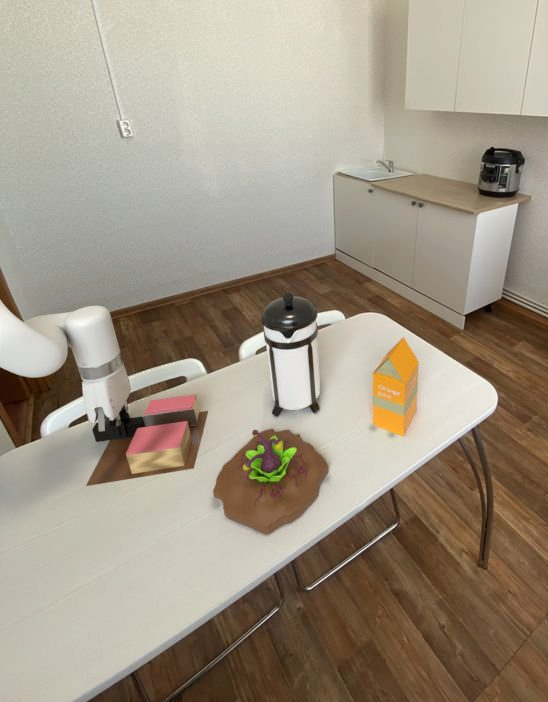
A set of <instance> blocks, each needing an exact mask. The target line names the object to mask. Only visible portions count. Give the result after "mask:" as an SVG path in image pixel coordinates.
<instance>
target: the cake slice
mask: <svg viewBox="0 0 548 702" xmlns="http://www.w3.org/2000/svg"><path fill="white" fill-rule="evenodd" d="M191 408H195V413H196V417H197V420H198V416H199V413H200V412H201V411H200V408H199V403H198V399H197V394H189V395H180V396H175V397H173V396H172V397H166V398H159V399H158V398H157V399H151V400H149V403H148V405H147V407H146V409H145V412H144V415H148V414H155V413H162V412H170V411H177V410H184V409H191ZM189 426H195V425H189Z"/></svg>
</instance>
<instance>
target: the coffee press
mask: <svg viewBox="0 0 548 702" xmlns="http://www.w3.org/2000/svg"><path fill="white" fill-rule="evenodd" d="M317 318H318V309H317V307H316V306H315V305H314V304H313V303H312V301H311V300H309V299H307V298H304V297H301V296H297V295H296V296H295V295H293V294H292V293H290V292H286V293H284V295H283V297H279V298H276V299H275V300H273V301H271V302H269V304H268V305H267V306H266V307H265V308H264V310H263V312H262V314H261V315H260V320H261V324H262V325H263V339H264V343H265V346H266V355H267V362H268V363H267V364H268V372H269V380H270V389H271V396H272V400H273V402H274V406H273V408H272V412H271V414H272V415H273V416H274V417H275V418H279V416H280V415H281V413H282V411H283V410H287V411H297V410H298V411H299V410H302V409H305V408H307V407H309V409H310V410H311V412H312V413H313V414H317V413H318V412H319V411H320V410H321V409H320V406H319V404H318V402H317V400H318V398H319V396H320V393H321V376H320V360H319V359H320V358H319V344H318V342H319V341H318V335H319V330H318V329H319V328H318V323H317V322H318V321H317Z"/></svg>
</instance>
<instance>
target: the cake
mask: <svg viewBox="0 0 548 702" xmlns="http://www.w3.org/2000/svg"><path fill="white" fill-rule="evenodd" d="M199 412H200V413H199V416H198V420H197V422H198V424H196V425H195V426H188V422H187V421H184V422H177V423H170V424H163V425H156V426H149V427H142V428H137V430H136V433H135V435H134V436H133V437H126V438H121V439H114V440H108V443H107V445H106V447H105V448H104V450H103V452H102V454H101V456H100V458H99V460H98V461H97V464H96V466H95V468H94V469H93V471H92V474H91V475H90V477H89V479H88V480H87V483H86V485H85V486H86V487H89V486H95V485H102V484H108V483H114V482H119V481H127V480H132V479H138V478H145V477H150V476H151V477H152V476H157V475H163V474H169V473H175V472H180V471H188V470H194V469H195V465H196V461H197V457H198V453H199V449H200V446H201V442H202V438H203V433H204V429H205V426H206V422H207V418H208V415H209V410H205V411H199Z"/></svg>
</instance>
